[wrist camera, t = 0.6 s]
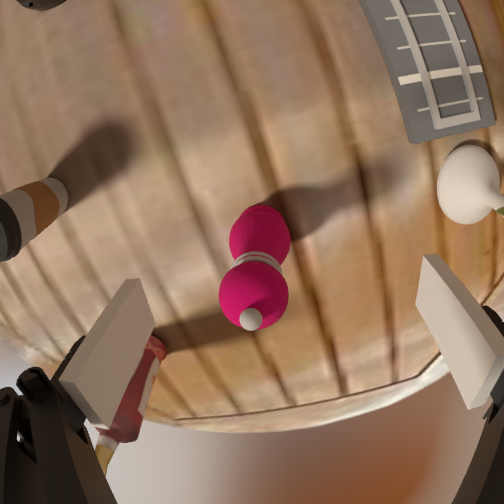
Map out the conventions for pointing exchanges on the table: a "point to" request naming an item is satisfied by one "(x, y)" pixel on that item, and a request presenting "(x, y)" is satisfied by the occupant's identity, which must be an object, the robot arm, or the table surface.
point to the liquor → (131, 403)
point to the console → (431, 66)
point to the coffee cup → (29, 213)
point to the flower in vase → (469, 185)
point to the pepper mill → (256, 269)
